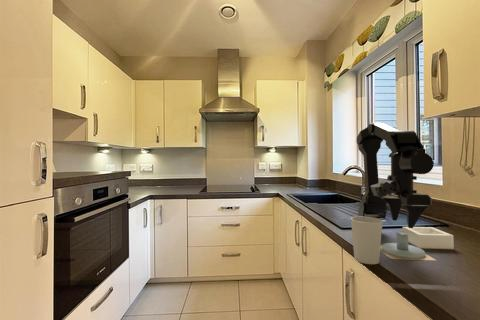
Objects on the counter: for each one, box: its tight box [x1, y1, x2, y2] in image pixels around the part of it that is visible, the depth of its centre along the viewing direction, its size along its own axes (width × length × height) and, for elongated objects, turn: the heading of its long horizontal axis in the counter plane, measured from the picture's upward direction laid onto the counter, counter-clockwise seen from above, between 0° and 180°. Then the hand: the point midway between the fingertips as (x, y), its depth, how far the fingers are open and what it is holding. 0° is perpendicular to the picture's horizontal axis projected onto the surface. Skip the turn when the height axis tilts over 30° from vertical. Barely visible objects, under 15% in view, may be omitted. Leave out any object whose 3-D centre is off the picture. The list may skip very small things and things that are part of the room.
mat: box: [380, 244, 438, 262], centre depth 78 cm, size 12×12×1 cm
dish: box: [402, 226, 455, 250], centre depth 85 cm, size 10×10×5 cm
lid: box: [381, 231, 426, 259], centre depth 78 cm, size 11×11×6 cm
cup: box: [350, 215, 384, 265], centre depth 72 cm, size 8×8×12 cm
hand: (402, 224), depth 78 cm, fingers open, 9 cm apart
